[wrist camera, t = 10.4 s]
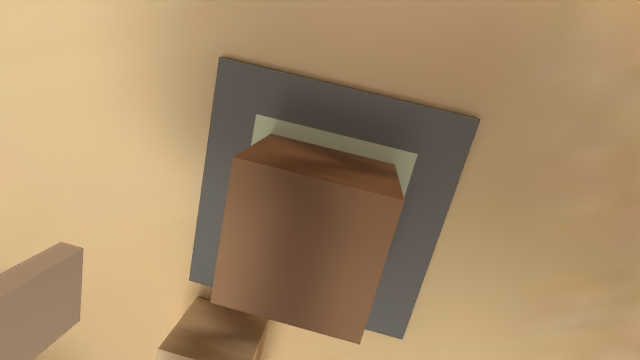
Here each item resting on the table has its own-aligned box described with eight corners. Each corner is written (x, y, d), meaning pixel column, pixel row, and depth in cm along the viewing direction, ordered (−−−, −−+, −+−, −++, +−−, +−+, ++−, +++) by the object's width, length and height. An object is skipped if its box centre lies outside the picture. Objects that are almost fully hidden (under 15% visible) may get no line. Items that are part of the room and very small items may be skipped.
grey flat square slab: (477, 118, 20) (480, 119, 19) (401, 334, 24) (402, 339, 23) (222, 57, 20) (219, 56, 20) (192, 276, 25) (188, 280, 24)
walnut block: (394, 164, 20) (404, 200, 15) (362, 274, 22) (359, 344, 17) (270, 133, 21) (233, 157, 15) (250, 244, 23) (210, 302, 17)
